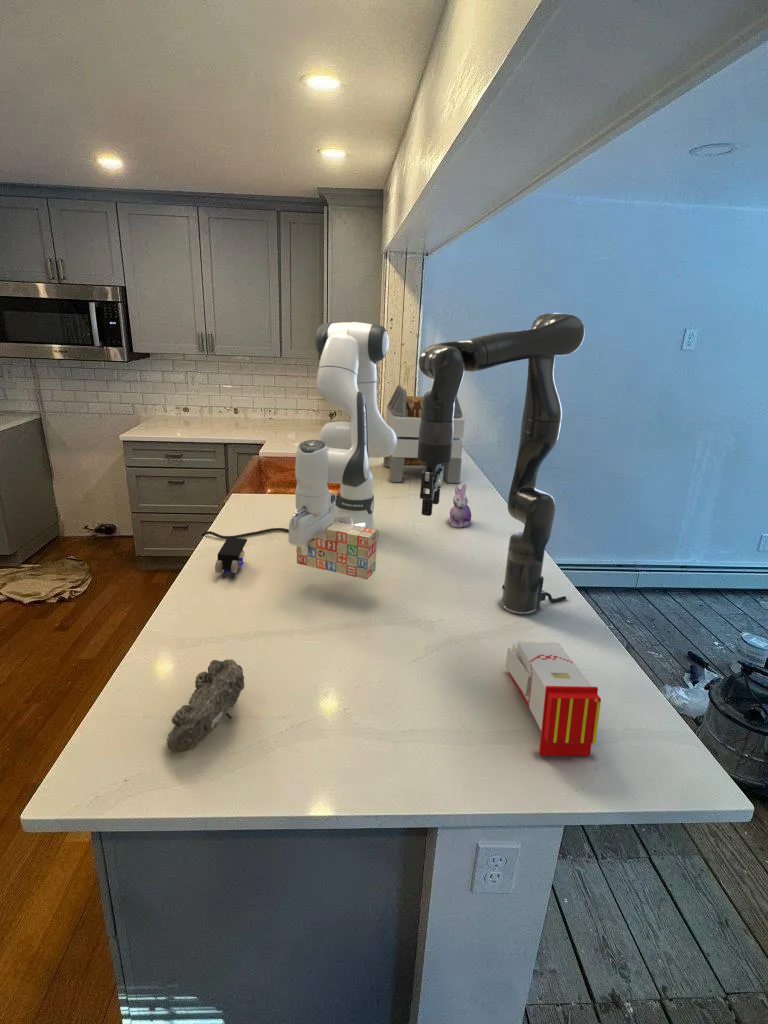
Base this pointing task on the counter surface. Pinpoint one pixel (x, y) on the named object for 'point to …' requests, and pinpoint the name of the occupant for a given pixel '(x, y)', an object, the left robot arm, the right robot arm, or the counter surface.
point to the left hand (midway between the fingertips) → (312, 548)
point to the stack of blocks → (342, 550)
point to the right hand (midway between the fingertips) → (430, 509)
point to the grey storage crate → (417, 436)
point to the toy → (556, 697)
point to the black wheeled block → (230, 556)
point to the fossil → (206, 705)
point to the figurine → (460, 508)
